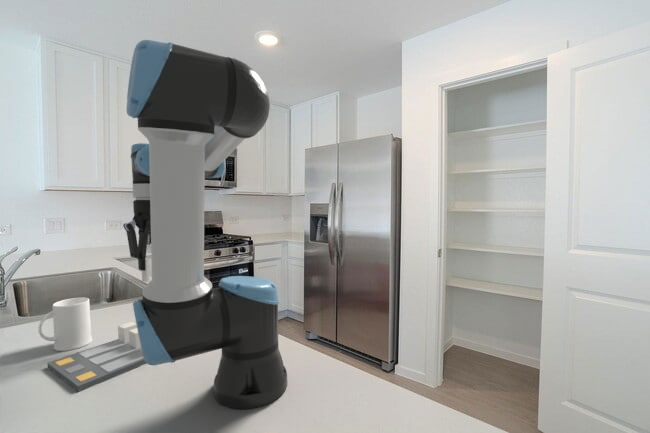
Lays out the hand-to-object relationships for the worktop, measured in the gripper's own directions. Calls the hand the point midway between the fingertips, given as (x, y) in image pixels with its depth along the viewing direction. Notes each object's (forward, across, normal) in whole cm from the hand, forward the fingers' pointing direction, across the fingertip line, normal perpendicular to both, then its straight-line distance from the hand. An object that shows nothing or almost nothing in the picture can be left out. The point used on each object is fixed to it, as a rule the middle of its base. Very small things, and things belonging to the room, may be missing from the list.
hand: (151, 279), depth 96 cm
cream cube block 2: (+15, +7, +6) cm, 18 cm away
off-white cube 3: (+15, +7, 0) cm, 17 cm away
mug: (+17, +17, -13) cm, 27 cm away
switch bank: (+17, +13, +6) cm, 22 cm away
